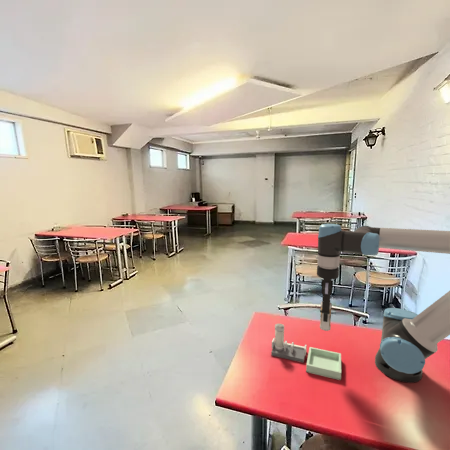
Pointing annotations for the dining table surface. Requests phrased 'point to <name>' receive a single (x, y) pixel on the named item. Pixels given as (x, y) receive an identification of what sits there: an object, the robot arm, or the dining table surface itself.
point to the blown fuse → (329, 318)
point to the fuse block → (290, 351)
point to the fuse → (279, 337)
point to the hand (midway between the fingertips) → (325, 325)
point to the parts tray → (324, 363)
